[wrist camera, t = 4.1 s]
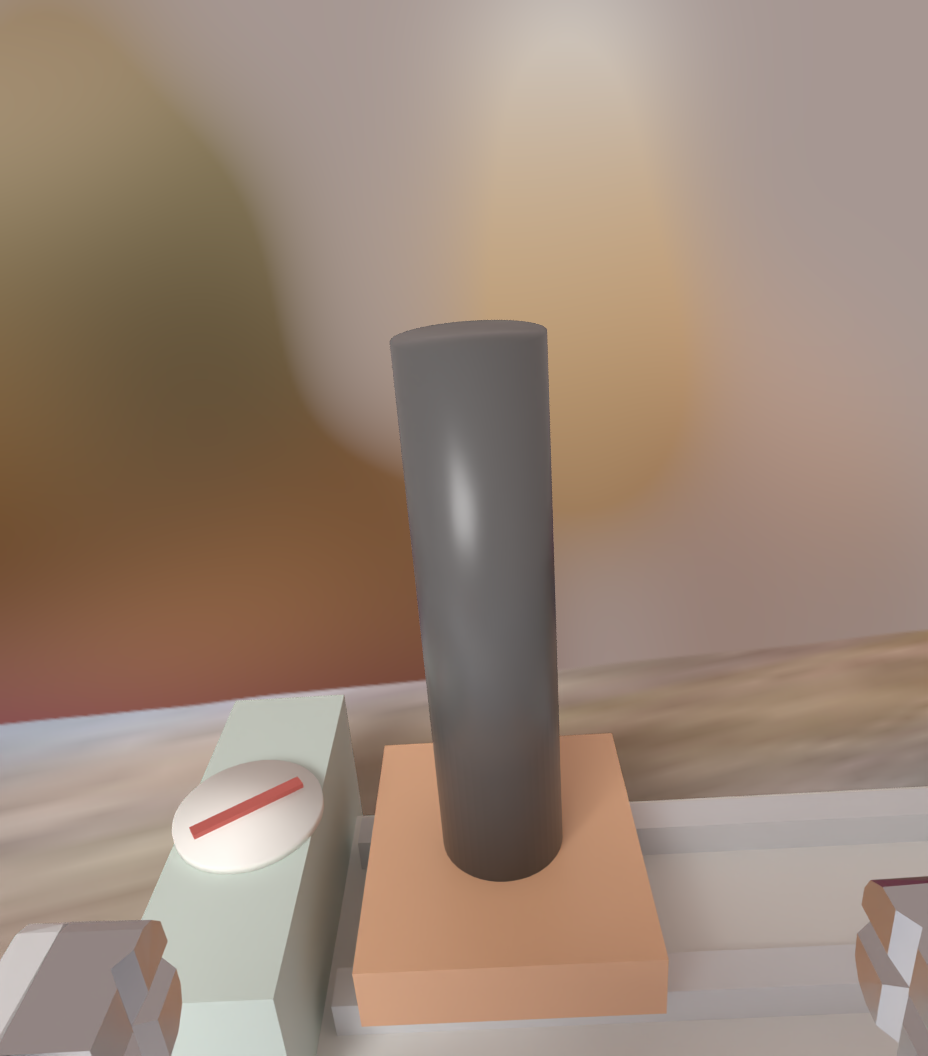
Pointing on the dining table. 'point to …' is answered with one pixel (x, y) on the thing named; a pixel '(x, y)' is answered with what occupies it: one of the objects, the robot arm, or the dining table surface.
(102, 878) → the dining table surface
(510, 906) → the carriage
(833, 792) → the track
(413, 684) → the dining table surface
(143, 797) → the dining table surface
